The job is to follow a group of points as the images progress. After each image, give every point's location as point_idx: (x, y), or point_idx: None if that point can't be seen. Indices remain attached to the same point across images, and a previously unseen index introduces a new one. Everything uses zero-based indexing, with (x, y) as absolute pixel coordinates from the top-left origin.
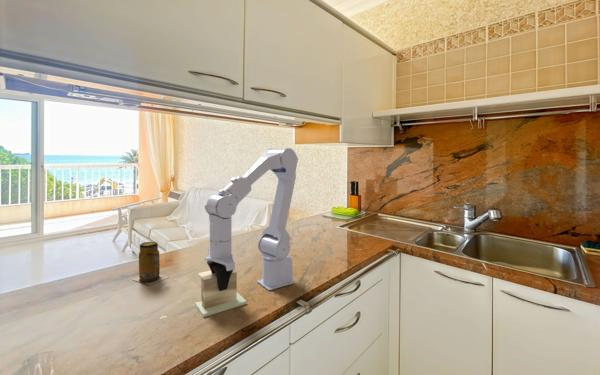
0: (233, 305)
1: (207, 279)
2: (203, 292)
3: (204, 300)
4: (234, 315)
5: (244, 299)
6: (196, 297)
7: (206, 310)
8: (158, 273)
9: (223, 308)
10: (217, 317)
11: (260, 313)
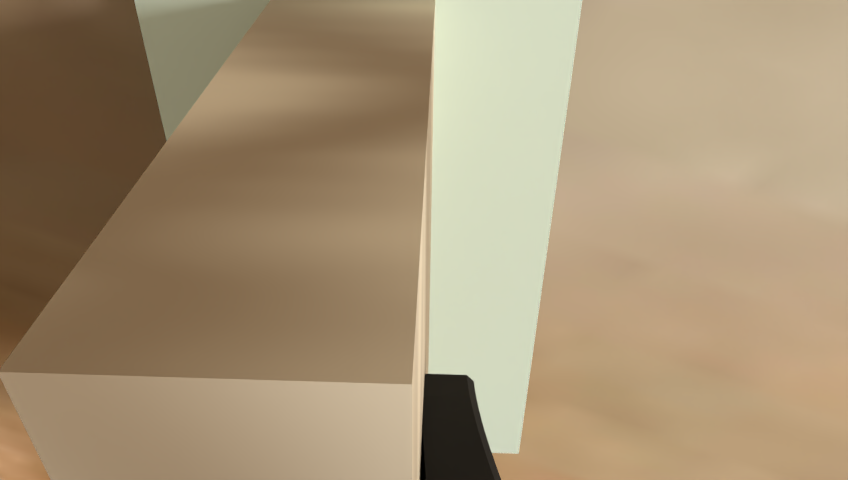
0: None
1: (49, 447)
2: (257, 113)
3: (235, 49)
4: (43, 253)
5: None
6: (840, 28)
7: (218, 7)
8: None
9: None
10: (61, 83)
11: (3, 430)
